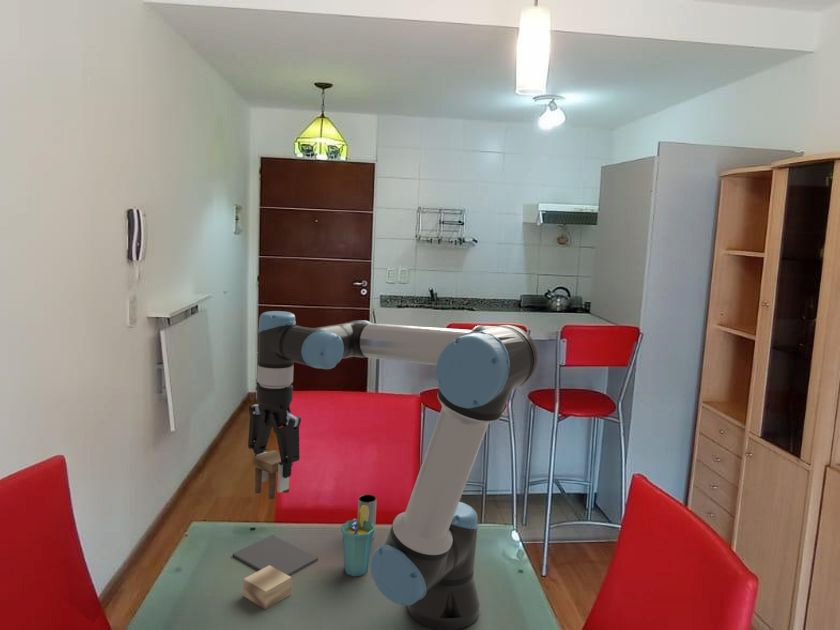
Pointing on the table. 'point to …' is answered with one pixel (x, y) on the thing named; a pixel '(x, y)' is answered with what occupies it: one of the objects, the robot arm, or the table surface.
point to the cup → (357, 543)
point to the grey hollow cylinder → (371, 503)
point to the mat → (275, 555)
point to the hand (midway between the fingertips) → (272, 485)
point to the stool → (270, 465)
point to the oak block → (267, 587)
